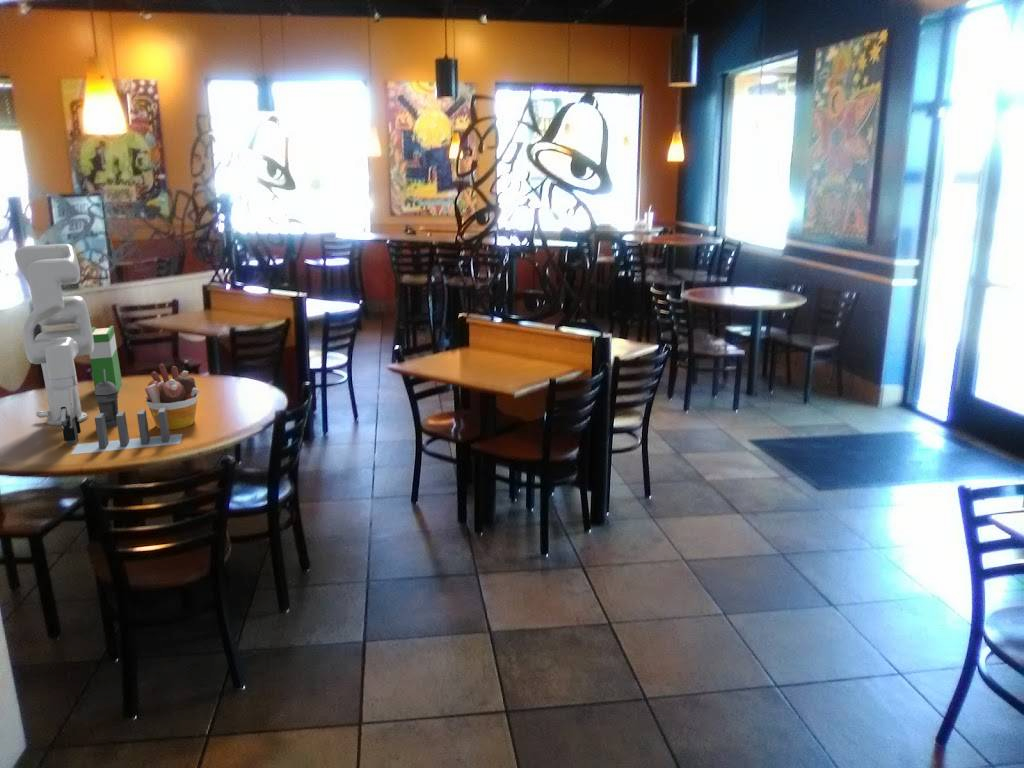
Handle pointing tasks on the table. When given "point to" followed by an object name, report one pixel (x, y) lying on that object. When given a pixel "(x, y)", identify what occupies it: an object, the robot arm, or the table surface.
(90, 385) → the table surface
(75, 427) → the domino
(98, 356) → the green tall box
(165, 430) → the domino
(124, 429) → the domino
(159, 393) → the bucket of meat
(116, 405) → the beverage cup
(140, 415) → the domino
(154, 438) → the mat
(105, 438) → the domino
